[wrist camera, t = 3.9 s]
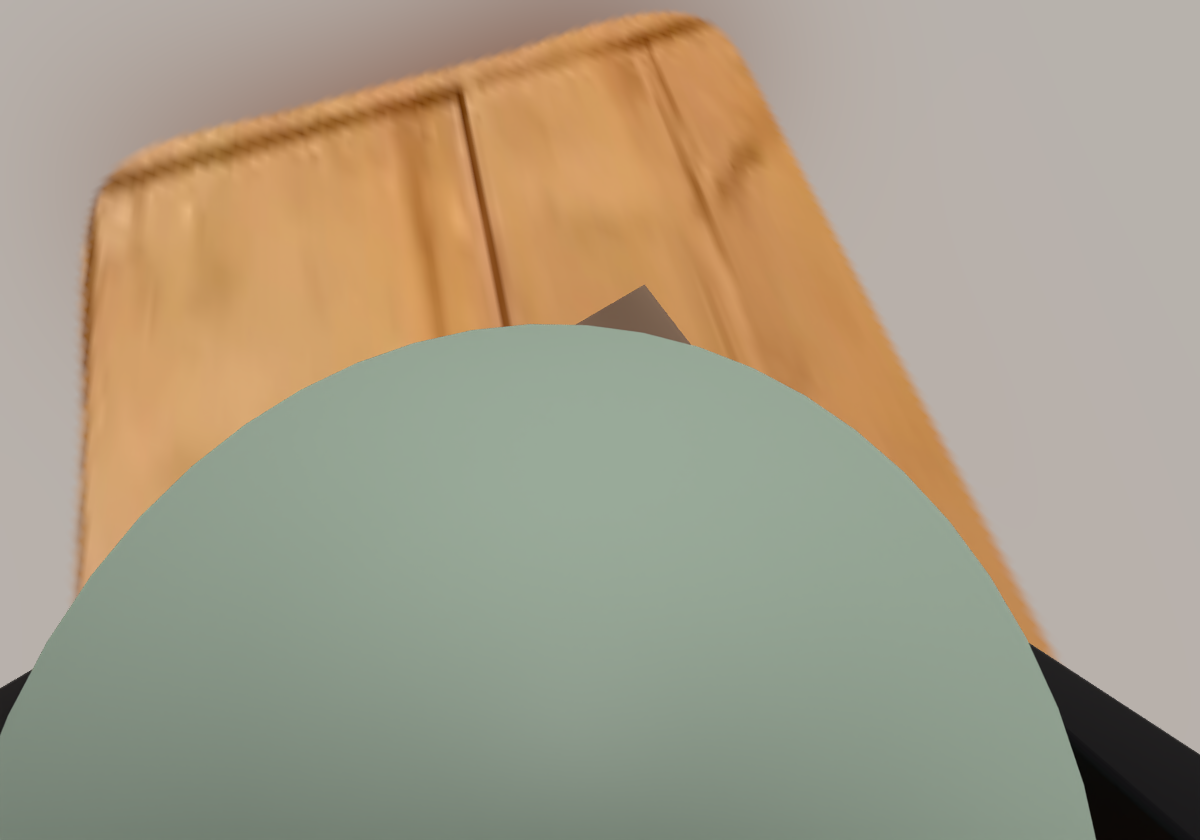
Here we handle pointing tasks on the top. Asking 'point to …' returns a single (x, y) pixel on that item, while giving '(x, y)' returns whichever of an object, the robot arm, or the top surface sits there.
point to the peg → (541, 624)
